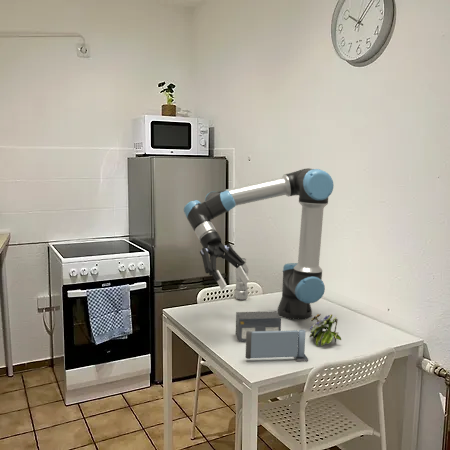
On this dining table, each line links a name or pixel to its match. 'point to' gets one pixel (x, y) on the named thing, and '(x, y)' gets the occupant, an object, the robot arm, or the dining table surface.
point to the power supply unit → (256, 323)
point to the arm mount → (301, 358)
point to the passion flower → (328, 334)
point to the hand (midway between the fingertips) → (235, 284)
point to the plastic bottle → (241, 284)
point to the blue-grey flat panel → (275, 344)
